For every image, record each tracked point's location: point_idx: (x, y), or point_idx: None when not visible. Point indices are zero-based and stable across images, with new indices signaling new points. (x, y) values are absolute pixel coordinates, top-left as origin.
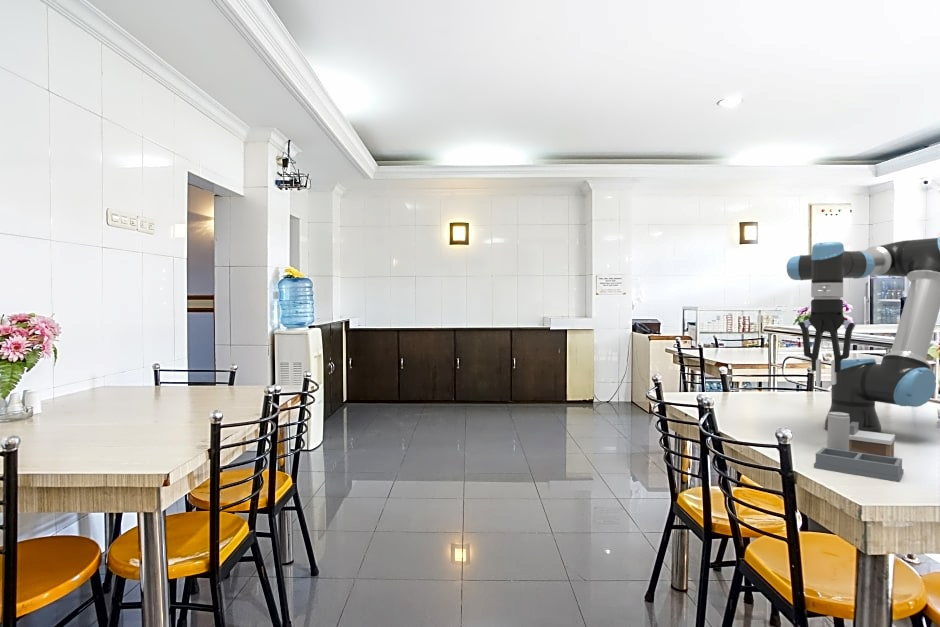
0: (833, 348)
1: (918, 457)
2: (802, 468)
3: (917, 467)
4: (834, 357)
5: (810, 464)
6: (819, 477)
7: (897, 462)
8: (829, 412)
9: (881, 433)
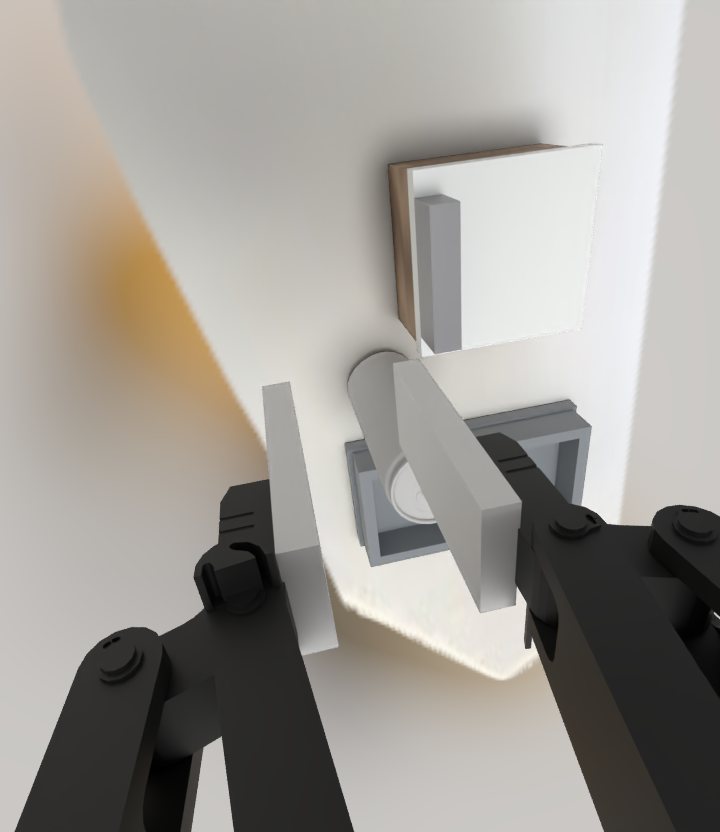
0: (596, 781)
1: (629, 60)
2: (337, 565)
3: (610, 277)
4: (535, 637)
5: (337, 512)
6: (398, 601)
7: (578, 483)
8: (393, 491)
9: (544, 165)
